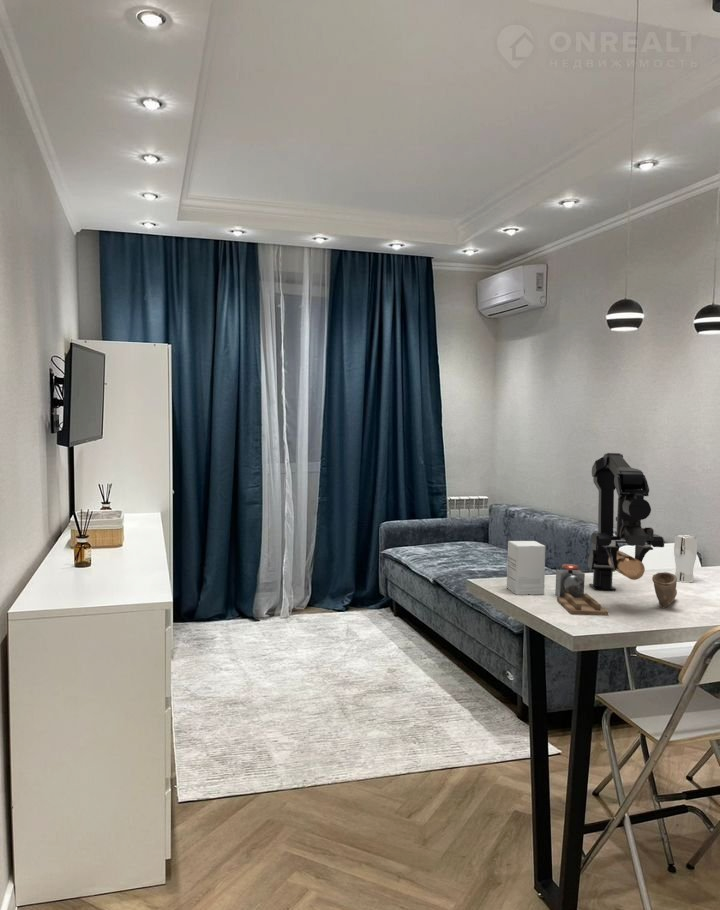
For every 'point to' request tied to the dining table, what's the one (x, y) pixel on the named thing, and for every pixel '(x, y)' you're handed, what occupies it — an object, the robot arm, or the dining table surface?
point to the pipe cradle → (582, 605)
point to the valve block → (569, 581)
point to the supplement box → (526, 567)
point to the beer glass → (685, 557)
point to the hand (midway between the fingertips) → (625, 570)
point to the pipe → (665, 587)
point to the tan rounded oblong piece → (628, 566)
